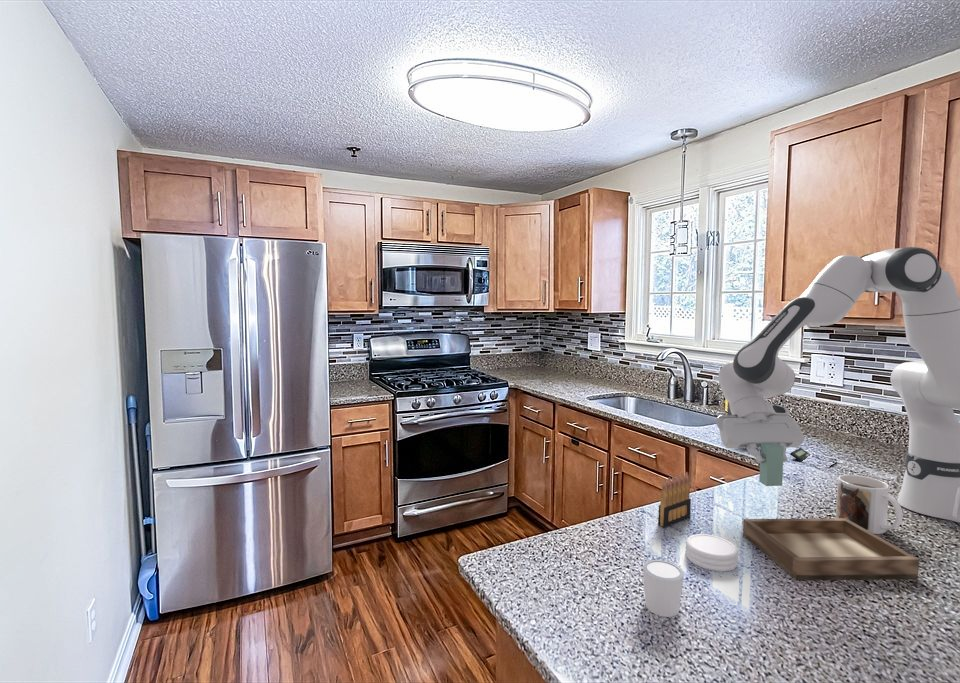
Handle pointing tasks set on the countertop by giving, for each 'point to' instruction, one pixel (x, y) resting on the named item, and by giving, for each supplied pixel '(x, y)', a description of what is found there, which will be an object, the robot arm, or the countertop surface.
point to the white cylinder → (662, 587)
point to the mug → (866, 503)
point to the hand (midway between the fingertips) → (773, 461)
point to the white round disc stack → (711, 552)
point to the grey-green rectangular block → (771, 464)
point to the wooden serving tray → (829, 549)
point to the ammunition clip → (674, 501)
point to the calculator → (800, 454)
